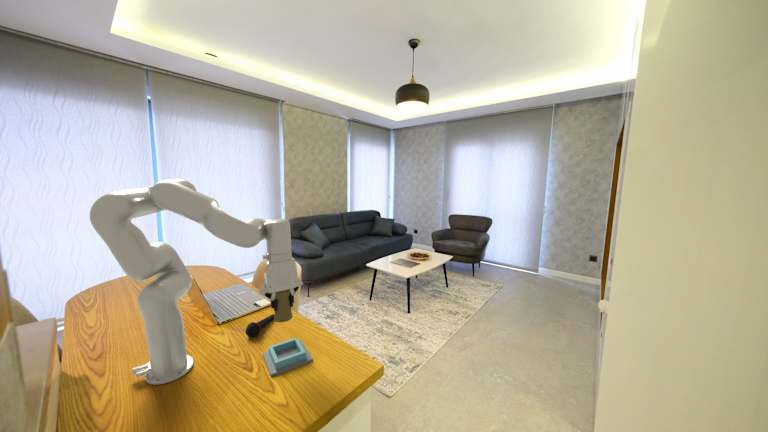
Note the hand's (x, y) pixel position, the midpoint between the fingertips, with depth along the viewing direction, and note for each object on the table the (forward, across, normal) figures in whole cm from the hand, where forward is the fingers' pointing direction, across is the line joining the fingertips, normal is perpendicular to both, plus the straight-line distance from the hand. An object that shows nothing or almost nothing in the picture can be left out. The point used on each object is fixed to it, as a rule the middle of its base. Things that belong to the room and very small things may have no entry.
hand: (282, 306), depth 95 cm
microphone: (+20, -2, +25) cm, 32 cm away
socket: (+20, 0, 0) cm, 20 cm away
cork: (+4, 0, 0) cm, 4 cm away
